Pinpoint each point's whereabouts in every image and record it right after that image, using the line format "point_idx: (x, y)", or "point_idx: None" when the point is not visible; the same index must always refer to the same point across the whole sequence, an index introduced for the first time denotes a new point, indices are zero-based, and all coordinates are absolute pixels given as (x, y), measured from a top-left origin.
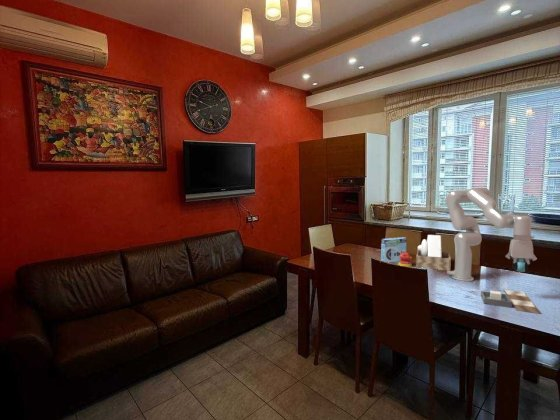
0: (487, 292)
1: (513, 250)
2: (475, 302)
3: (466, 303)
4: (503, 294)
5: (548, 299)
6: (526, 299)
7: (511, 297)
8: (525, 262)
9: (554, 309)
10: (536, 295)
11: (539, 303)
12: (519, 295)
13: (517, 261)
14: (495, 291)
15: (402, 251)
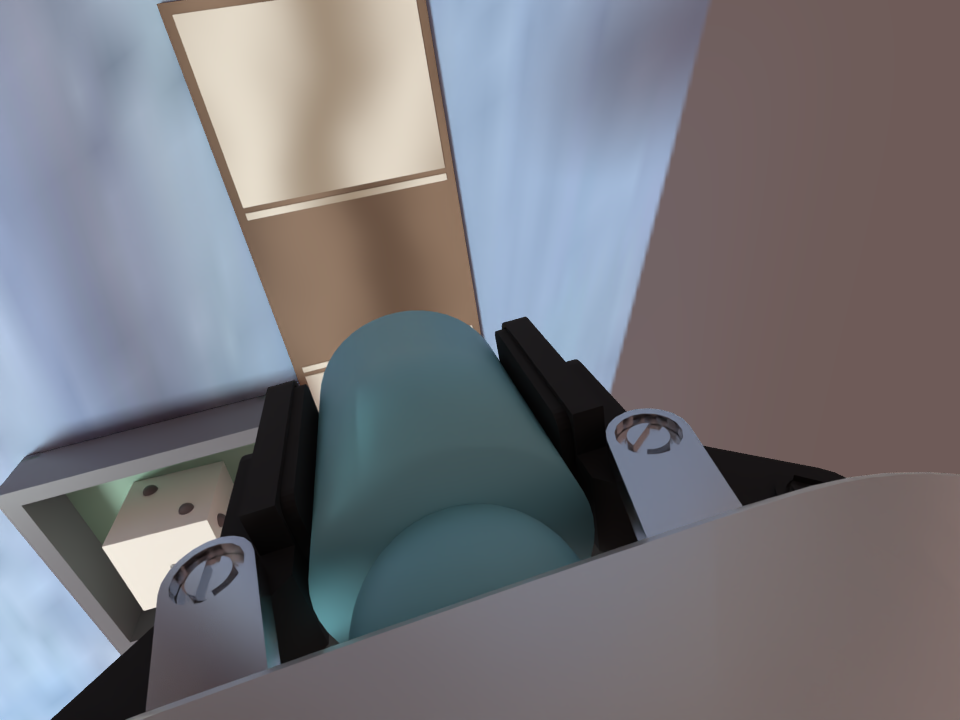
0: (75, 488)
1: None
2: (69, 626)
3: (21, 686)
4: (239, 446)
5: (627, 123)
6: (437, 283)
7: (306, 311)
8: (594, 497)
9: (606, 386)
10: (542, 29)
11: (530, 313)
12: (374, 183)
13: (362, 581)
14: (163, 541)
15: None
